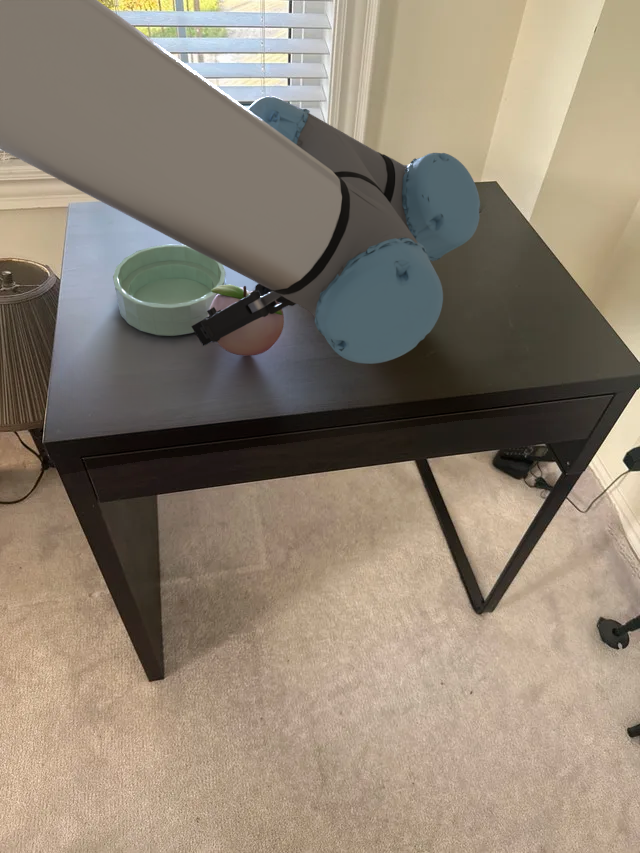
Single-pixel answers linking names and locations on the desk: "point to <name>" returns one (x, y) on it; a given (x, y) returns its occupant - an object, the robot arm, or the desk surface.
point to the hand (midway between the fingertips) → (228, 317)
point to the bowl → (166, 288)
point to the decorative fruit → (252, 335)
